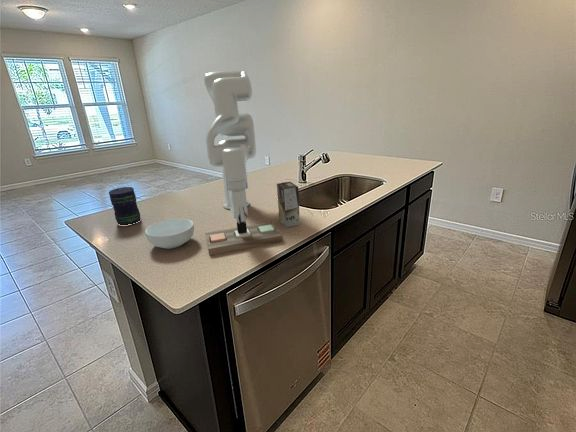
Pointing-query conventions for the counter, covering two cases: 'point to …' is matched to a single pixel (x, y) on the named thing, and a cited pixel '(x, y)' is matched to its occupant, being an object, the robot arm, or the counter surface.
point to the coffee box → (288, 204)
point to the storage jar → (125, 205)
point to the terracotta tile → (217, 237)
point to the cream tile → (242, 234)
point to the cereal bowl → (170, 233)
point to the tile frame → (242, 239)
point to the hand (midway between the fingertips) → (242, 232)
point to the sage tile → (265, 229)
